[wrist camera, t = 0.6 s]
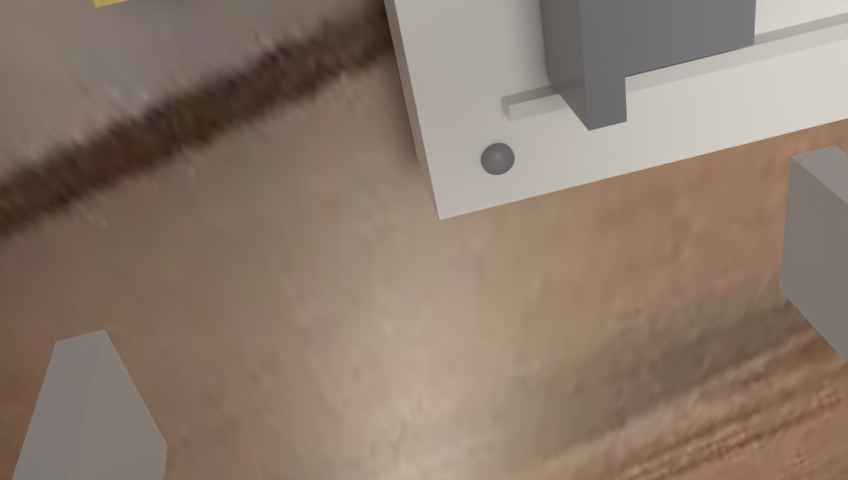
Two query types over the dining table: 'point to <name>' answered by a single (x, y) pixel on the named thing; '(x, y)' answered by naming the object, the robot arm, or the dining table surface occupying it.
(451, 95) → the socket
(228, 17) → the dining table surface
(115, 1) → the plug
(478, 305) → the dining table surface
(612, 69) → the shutter
